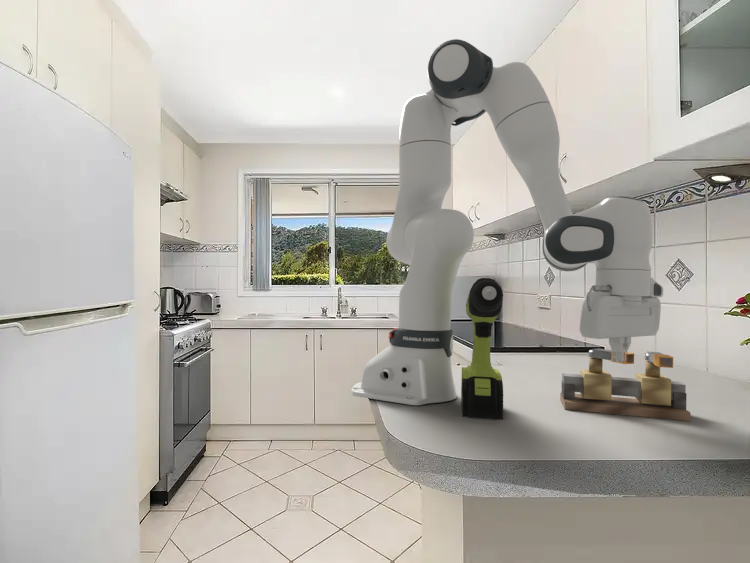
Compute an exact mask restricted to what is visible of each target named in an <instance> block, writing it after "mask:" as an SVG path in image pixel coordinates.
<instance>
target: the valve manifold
mask: <svg viewBox="0 0 750 563" xmlns="http://www.w3.org/2000/svg"><path fill="white" fill-rule="evenodd" d="M603 360H604V359H600V358H594V357H589V358H588V369H580V374H576V373H575V374H574V373H563V372H562V373H561V392H560V394H559V395H560V397H559V398H560V402H561V404H562V406H563V409H564V410H566V411H567V410H568V411H580V412H588V413H589V412H590V413H598V412H599V414H600V413H601V414H611V415H612V414H613V415H621V416H633V417H642V418H643V417H644V418H653V419H654V418H656V419H666V420H676V421H686V422H687V421H688V422H691V411H689V410H687V392H686V391H687V390H686V389H687V388H686V387H687V386H686V384H685V383H683V382H682V381H675V380H672V379H671V378H669V377H667V376H665V375H664V374H661V367H658V366H656V365H654V363H652V362H650V361H648V360H645V372H644V373H637V372H636V373H634V374H635V375H634V378H632V377H618V376H612V374H611V373H609V372H608V371H607V370H603V364H604V363H603ZM632 397H634V398H632Z"/></svg>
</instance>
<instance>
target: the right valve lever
mask: <svg viewBox="0 0 750 563" xmlns="http://www.w3.org/2000/svg"><path fill="white" fill-rule="evenodd" d="M644 360H645V361H650V362H652V363H654V365H656V366H658V367H660V368H667V369H669V368H670V369H674V356H671V355H669V354H664V353H661V352H660V351H659V352H658V351H647V352H645V353H644Z"/></svg>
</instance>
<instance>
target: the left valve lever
mask: <svg viewBox="0 0 750 563" xmlns="http://www.w3.org/2000/svg"><path fill="white" fill-rule="evenodd" d="M612 354H613V351H612V349H604V348H592V349H589V350H588V357H589V358H590V357H594V358H600V359H603V360H605V361H606V360H607V361H611V362H612V363H617V364H622V365H633V364H634V365H635V352H628V351H627V355H626V361H625V362H615V361H613V359H612V356H613V355H612Z"/></svg>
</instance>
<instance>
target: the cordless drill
mask: <svg viewBox="0 0 750 563" xmlns="http://www.w3.org/2000/svg"><path fill="white" fill-rule="evenodd" d="M468 292H469V293H468V295H467V299H466V301H465V302H466V303H465V312H466V315H467V317H469V319H471V321H472V325H473V337H472V340H473V341H472V352H471V355H472V356H471V363H470V364H469V365H467V367H465V366H462V367H461V388H460V389H461V392H460V395H461V396H460V404H461V415H462V417H465V418H469V419H483V420H484V419H485V420H504V384H503V377H502V374H501V372H500V370H499V369H498V368H494V367H493V365H492V363H491V338H492V328H493V327H492V326H493V324H494V322H495V321H496V319H497V318H498V317H499V316H500V315H501V311H502V307H503V302H504V301H503V298H504V293H503V292H504V291H503V289H502V287H501V285H500V284H499V283H498V282H497V281H496V280H495V279H492V278H490V277H481V278H478V279H477V280H475V282H474V283H473V284H472V286H471V288H470V289H469V291H468Z"/></svg>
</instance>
